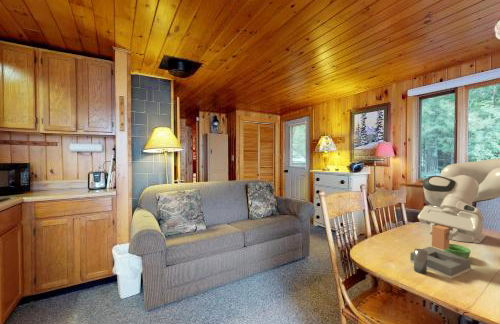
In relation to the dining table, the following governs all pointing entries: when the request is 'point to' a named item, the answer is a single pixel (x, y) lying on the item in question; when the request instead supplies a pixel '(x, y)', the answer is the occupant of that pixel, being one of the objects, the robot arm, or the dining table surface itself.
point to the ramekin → (458, 250)
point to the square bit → (440, 237)
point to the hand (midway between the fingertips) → (439, 236)
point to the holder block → (445, 262)
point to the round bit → (420, 261)
